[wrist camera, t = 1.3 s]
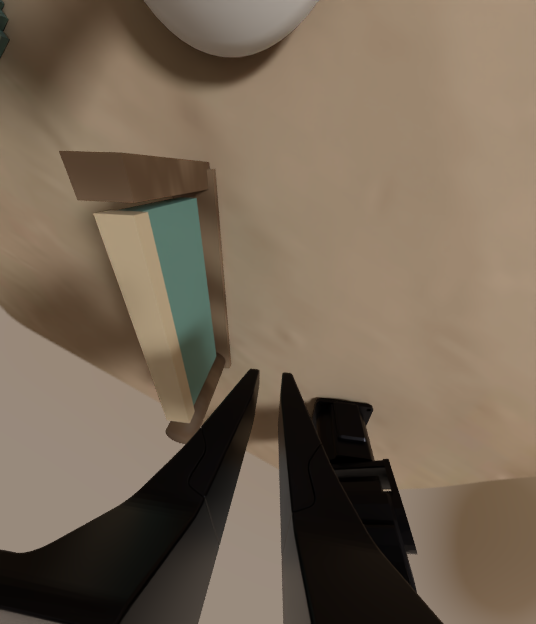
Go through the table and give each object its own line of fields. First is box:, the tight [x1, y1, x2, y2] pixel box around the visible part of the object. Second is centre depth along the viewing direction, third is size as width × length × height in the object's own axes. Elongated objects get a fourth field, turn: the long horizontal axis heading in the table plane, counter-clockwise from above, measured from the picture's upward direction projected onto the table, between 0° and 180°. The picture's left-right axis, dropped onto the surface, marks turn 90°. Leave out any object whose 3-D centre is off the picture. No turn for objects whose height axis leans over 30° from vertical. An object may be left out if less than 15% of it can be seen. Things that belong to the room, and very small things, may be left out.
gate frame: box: [59, 151, 231, 444], centre depth 17 cm, size 19×3×9 cm, turn 178°
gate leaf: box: [93, 197, 216, 423], centre depth 16 cm, size 15×2×7 cm, turn 178°
